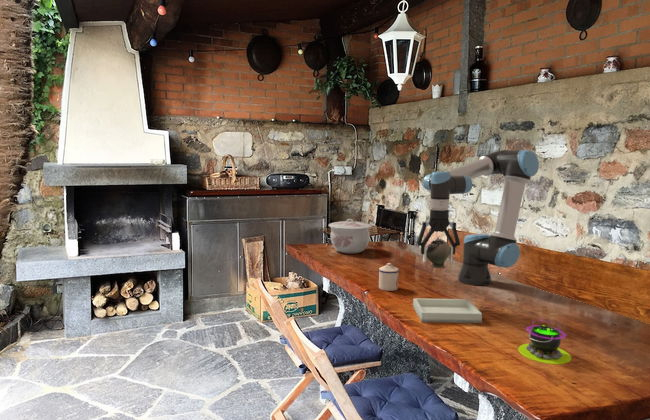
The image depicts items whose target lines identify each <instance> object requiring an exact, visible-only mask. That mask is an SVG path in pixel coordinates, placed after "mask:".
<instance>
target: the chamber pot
mask: <svg viewBox="0 0 650 420" xmlns="http://www.w3.org/2000/svg"><path fill="white" fill-rule="evenodd" d="M328 227H329V228H330V235H329V236H330V241H331V244H332V246H333V247H334V249H335V251H337V252H339V253H342V254H351V255H354V254H359V253H362V252H364V251H365V250H366V248H367V246H368V245H369V241H370V236H371V235H370V231H369V229H371V228H373V225H372V224H371V223H367V222H364V221H357V220H356V221H355V220H354V219H352V218H347V219H346V220H344V221H343V220H342V221H341V220H340V221H335V222H331V223H329V224H328Z"/></svg>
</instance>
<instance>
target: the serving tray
mask: <svg viewBox="0 0 650 420" xmlns="http://www.w3.org/2000/svg"><path fill="white" fill-rule="evenodd" d="M412 301H413V302H412V308H413V309H414V311H415V312H416V315H417V317H418V318H419V321H420V322H421V323H448V324H449V323H451V324H452V323H453V324H454V323H458V324H459V323H461V324H464V323H465V324H482V323H483V321H482V319H483V313H482V312H481V310H479V309H478V308H477V307H476V306H475V304H474V303H472V302H471V301H470V299H468V298H467V299H466V298H465V299H464V298H418V297H417V298H413V299H412Z"/></svg>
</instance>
